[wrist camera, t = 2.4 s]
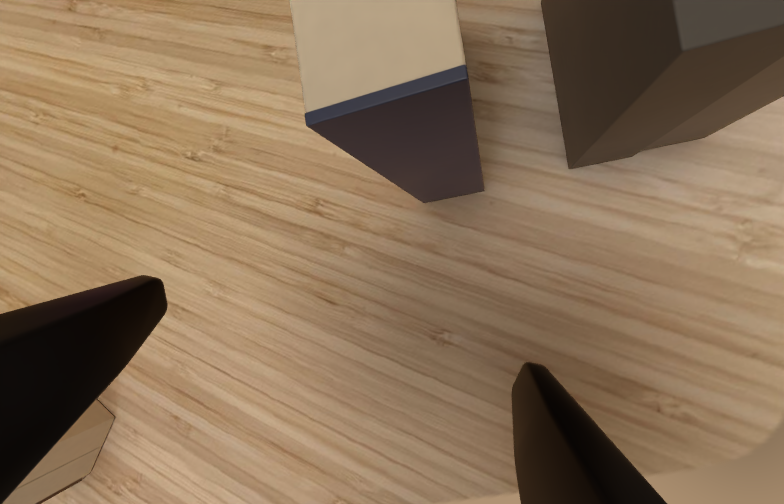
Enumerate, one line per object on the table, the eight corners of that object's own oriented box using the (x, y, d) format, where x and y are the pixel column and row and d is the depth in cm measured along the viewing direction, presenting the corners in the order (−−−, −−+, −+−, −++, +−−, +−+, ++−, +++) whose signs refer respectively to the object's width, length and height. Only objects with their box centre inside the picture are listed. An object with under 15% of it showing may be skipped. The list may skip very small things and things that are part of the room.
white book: (484, 191, 19) (468, 78, 6) (423, 203, 20) (305, 126, 7) (459, 30, 19) (396, -378, 7) (400, 50, 20) (248, -273, 8)
